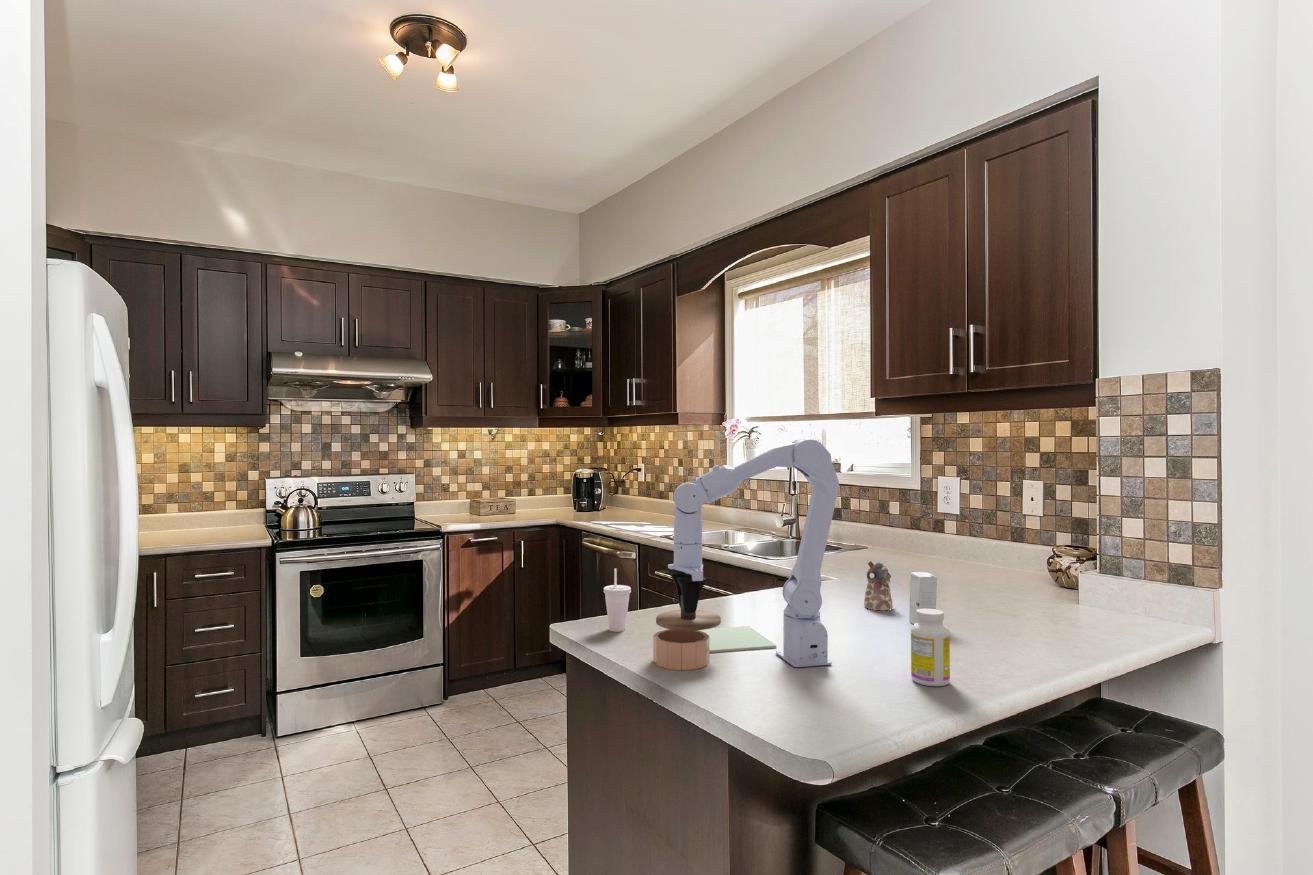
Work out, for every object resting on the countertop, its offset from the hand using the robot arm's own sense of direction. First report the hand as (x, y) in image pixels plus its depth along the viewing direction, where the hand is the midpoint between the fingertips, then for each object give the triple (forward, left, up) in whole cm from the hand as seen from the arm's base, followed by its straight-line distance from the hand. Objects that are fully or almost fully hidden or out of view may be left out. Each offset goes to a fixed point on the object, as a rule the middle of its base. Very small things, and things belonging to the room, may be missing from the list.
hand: (687, 610), depth 147 cm
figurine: (+29, -60, -10) cm, 68 cm away
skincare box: (+11, -61, -10) cm, 63 cm away
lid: (0, 0, -2) cm, 2 cm away
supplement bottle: (-24, -39, -10) cm, 47 cm away
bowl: (-2, +2, -10) cm, 10 cm away
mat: (+10, -12, -10) cm, 19 cm away
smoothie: (+24, +10, -10) cm, 28 cm away
